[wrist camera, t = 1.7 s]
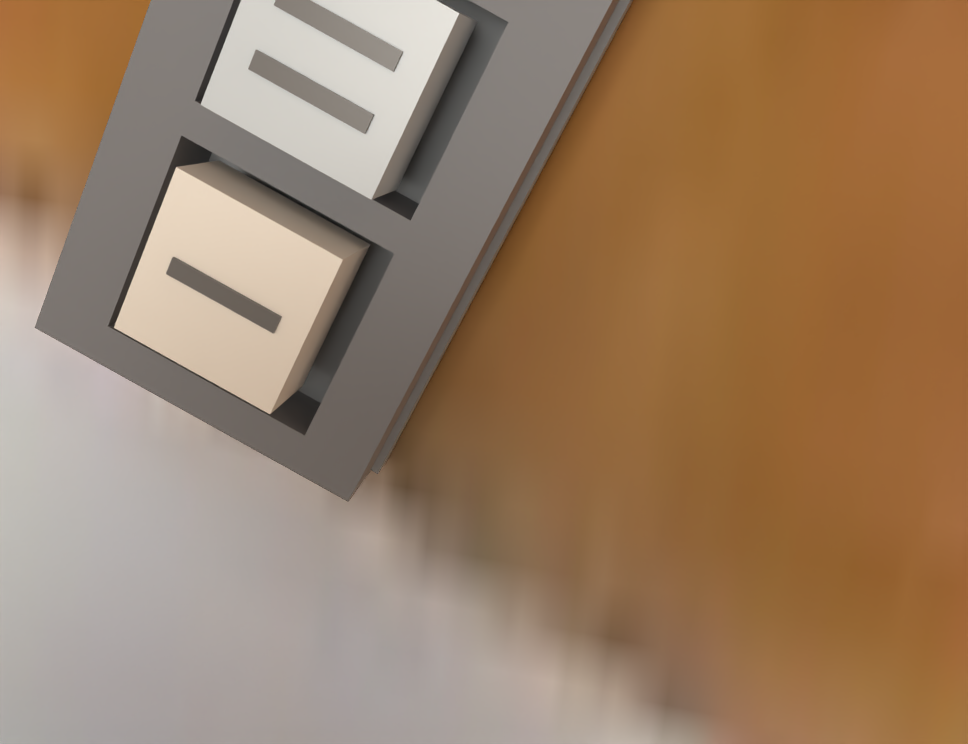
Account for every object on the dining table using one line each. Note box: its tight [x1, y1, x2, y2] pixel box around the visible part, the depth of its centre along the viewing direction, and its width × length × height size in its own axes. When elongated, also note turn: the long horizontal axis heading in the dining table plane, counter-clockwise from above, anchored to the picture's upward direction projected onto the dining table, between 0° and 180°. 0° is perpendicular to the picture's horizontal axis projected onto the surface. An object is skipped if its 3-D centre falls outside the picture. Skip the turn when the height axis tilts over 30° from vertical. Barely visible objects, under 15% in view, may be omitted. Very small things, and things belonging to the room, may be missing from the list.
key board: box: [35, 0, 633, 501], centre depth 25 cm, size 11×22×4 cm, turn 153°
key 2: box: [201, 0, 477, 200], centre depth 23 cm, size 5×5×3 cm
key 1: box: [114, 161, 370, 414], centre depth 25 cm, size 5×5×3 cm
